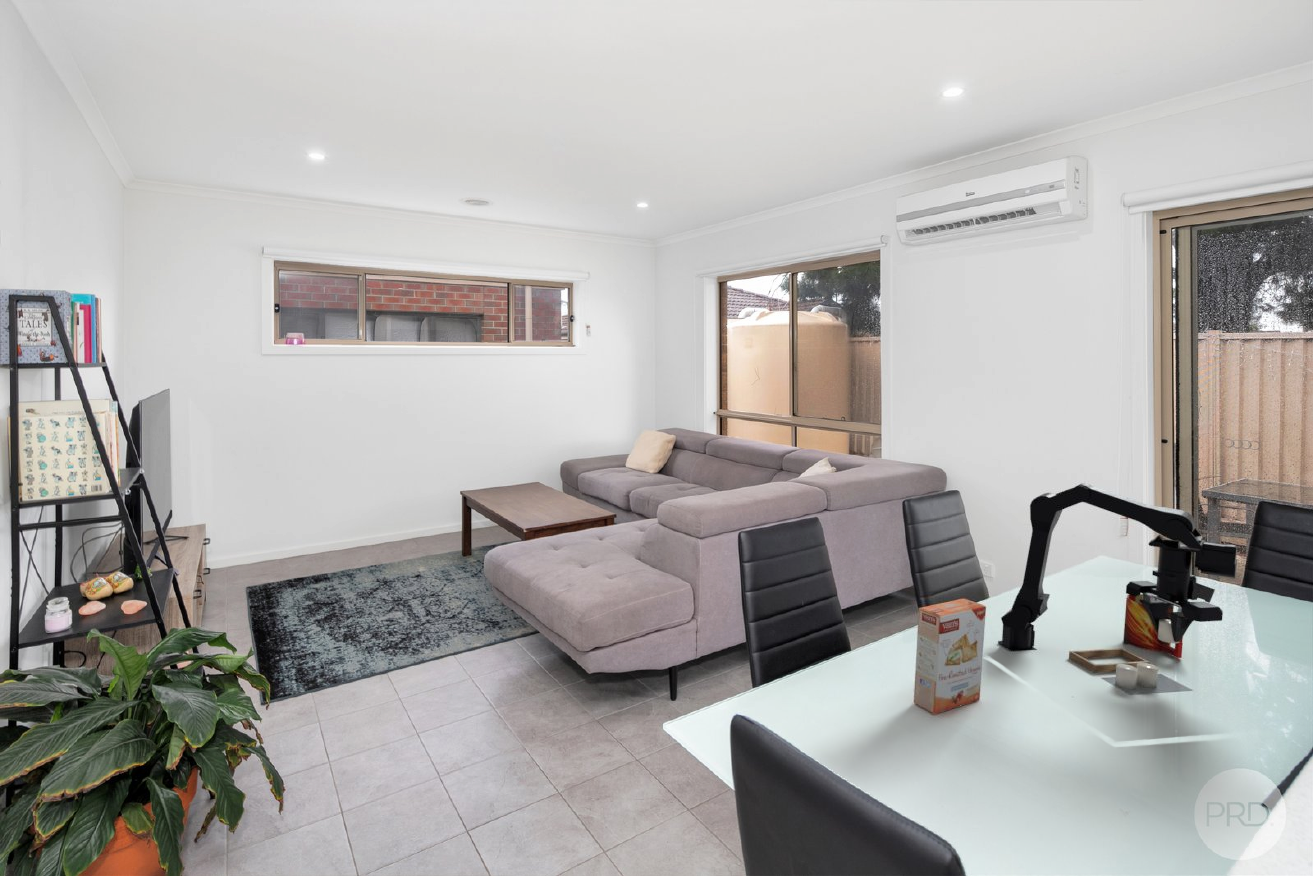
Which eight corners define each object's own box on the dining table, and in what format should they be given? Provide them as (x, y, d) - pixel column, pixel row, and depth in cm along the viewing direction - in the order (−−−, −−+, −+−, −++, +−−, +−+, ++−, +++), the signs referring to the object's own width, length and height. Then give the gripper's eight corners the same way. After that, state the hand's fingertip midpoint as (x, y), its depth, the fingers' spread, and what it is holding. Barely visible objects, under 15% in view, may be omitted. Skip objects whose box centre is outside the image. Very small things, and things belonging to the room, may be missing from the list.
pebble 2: (1145, 688, 147) (1147, 670, 147) (1131, 680, 151) (1132, 663, 151) (1161, 687, 148) (1162, 669, 148) (1146, 679, 152) (1147, 662, 151)
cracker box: (936, 717, 137) (940, 616, 135) (912, 703, 142) (916, 606, 140) (982, 701, 143) (987, 605, 141) (958, 689, 149) (962, 596, 147)
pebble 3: (1168, 643, 147) (1169, 626, 147) (1153, 637, 151) (1154, 619, 151) (1184, 642, 148) (1185, 625, 148) (1168, 636, 152) (1170, 618, 151)
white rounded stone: (1124, 689, 147) (1126, 672, 146) (1110, 682, 151) (1112, 664, 150) (1140, 688, 147) (1142, 671, 147) (1126, 680, 151) (1127, 663, 151)
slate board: (1130, 698, 145) (1130, 694, 145) (1100, 681, 153) (1101, 677, 153) (1192, 693, 147) (1192, 690, 147) (1160, 677, 155) (1160, 673, 155)
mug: (1179, 663, 162) (1183, 614, 161) (1115, 643, 174) (1119, 598, 172) (1197, 654, 167) (1201, 607, 166) (1134, 636, 179) (1137, 591, 178)
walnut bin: (1094, 676, 155) (1095, 665, 155) (1068, 661, 163) (1069, 651, 163) (1149, 672, 157) (1149, 662, 157) (1121, 658, 165) (1121, 648, 165)
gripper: (1249, 580, 140) (1242, 653, 141) (1169, 555, 158) (1164, 620, 160) (1201, 582, 138) (1195, 656, 140) (1126, 557, 157) (1121, 623, 158)
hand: (1168, 638), depth 150 cm, fingers closed on pebble 3, 4 cm apart
